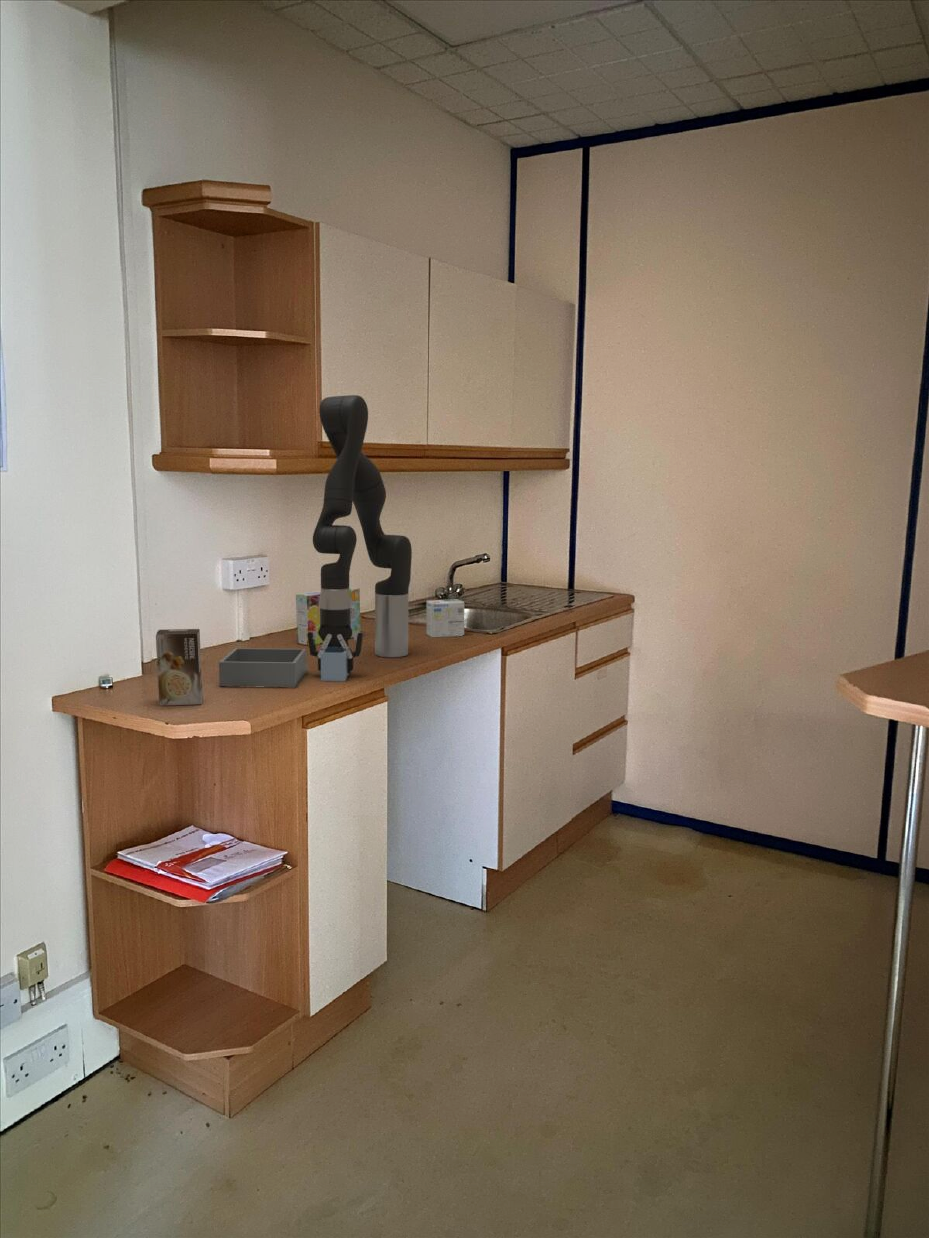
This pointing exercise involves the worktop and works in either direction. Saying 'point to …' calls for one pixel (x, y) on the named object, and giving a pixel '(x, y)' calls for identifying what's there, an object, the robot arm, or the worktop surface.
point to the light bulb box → (445, 618)
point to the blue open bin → (334, 664)
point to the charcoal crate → (263, 667)
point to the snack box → (311, 614)
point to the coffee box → (179, 667)
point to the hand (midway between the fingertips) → (335, 672)
